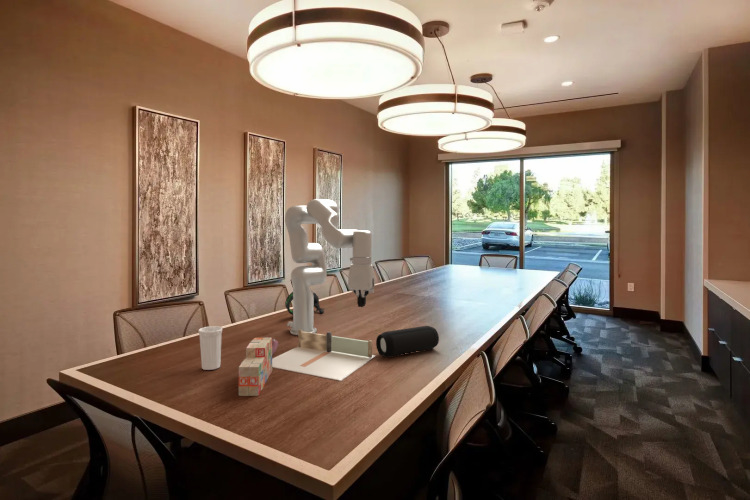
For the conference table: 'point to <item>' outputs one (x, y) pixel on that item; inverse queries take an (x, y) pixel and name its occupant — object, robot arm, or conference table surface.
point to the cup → (210, 347)
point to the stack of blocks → (255, 367)
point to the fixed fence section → (314, 340)
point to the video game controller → (274, 345)
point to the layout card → (320, 362)
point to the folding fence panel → (351, 346)
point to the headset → (316, 303)
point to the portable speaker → (407, 341)
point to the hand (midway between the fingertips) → (361, 306)
